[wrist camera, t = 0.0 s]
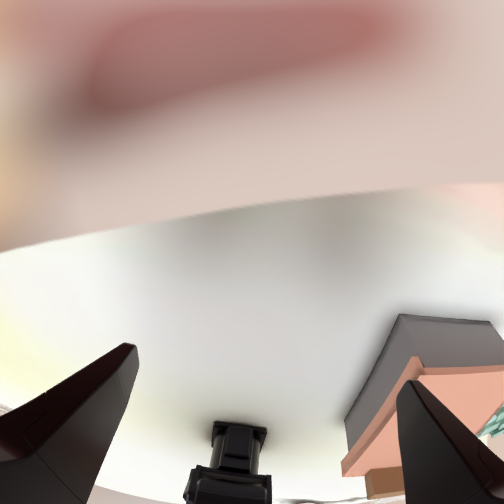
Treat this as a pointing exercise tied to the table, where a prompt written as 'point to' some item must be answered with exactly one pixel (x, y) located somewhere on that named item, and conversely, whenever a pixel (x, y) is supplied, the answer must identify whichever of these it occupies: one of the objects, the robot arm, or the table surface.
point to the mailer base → (422, 359)
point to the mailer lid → (385, 422)
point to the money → (494, 425)
